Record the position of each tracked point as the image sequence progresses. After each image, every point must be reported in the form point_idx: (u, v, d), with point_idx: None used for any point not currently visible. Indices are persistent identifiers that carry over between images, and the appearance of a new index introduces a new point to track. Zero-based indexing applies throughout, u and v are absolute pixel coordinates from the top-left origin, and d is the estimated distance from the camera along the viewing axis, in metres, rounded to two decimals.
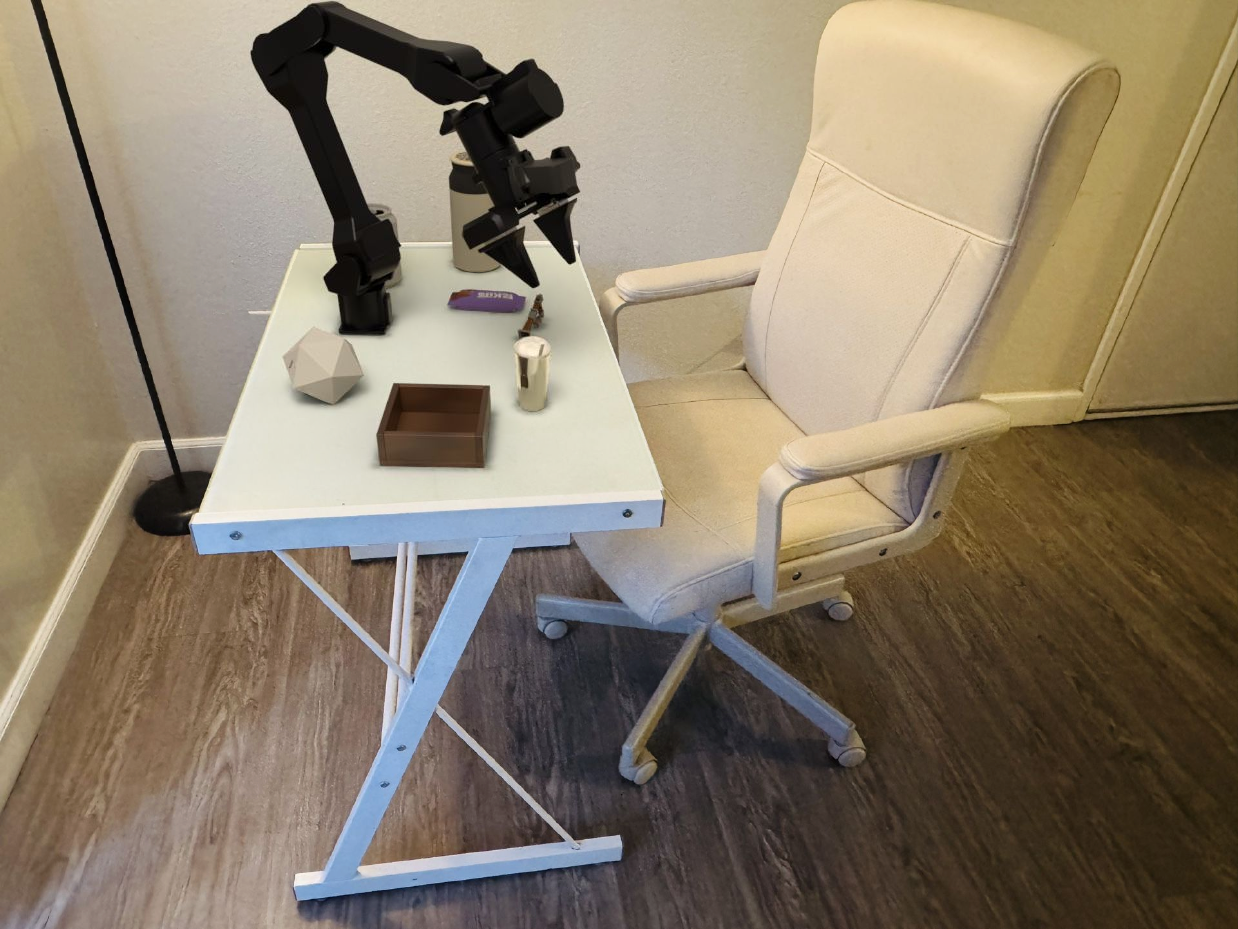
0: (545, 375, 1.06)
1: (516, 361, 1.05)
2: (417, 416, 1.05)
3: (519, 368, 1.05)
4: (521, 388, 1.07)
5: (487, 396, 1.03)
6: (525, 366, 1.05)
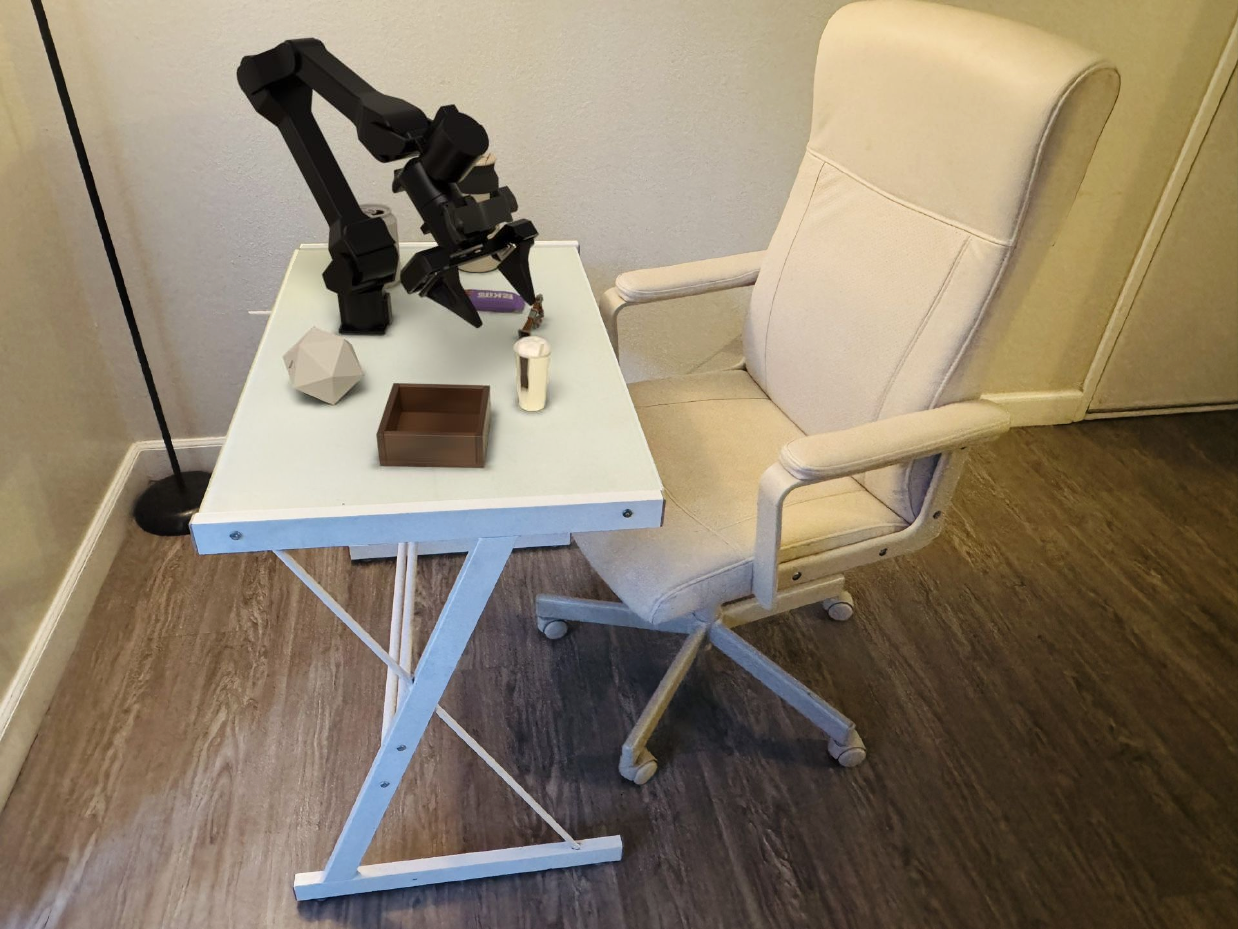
0: (545, 375, 1.06)
1: (516, 361, 1.05)
2: (417, 416, 1.05)
3: (519, 368, 1.05)
4: (521, 388, 1.07)
5: (487, 396, 1.03)
6: (525, 366, 1.05)
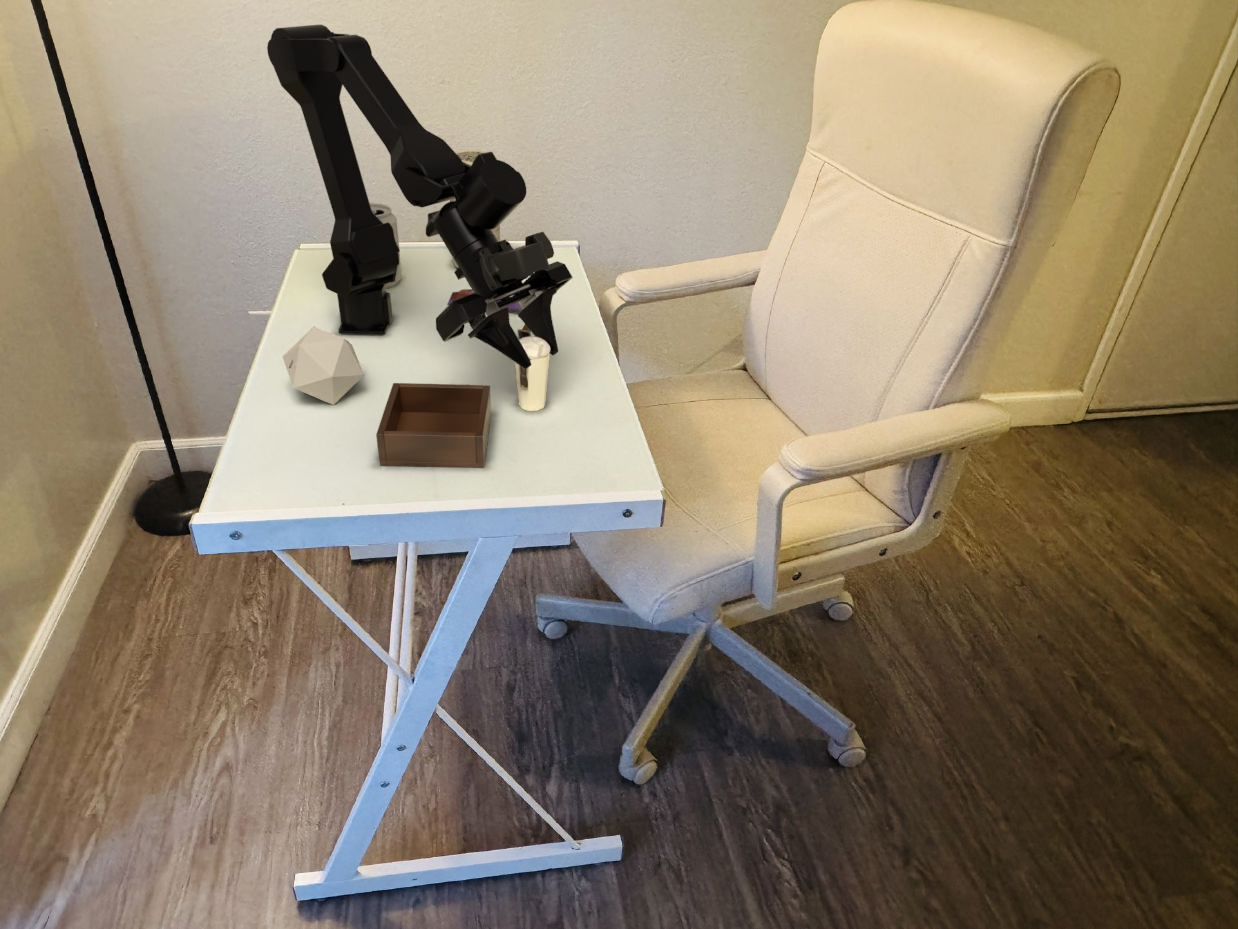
0: (545, 375, 1.06)
1: (515, 362, 1.05)
2: (417, 416, 1.05)
3: (518, 368, 1.05)
4: (521, 388, 1.07)
5: (487, 396, 1.03)
6: None
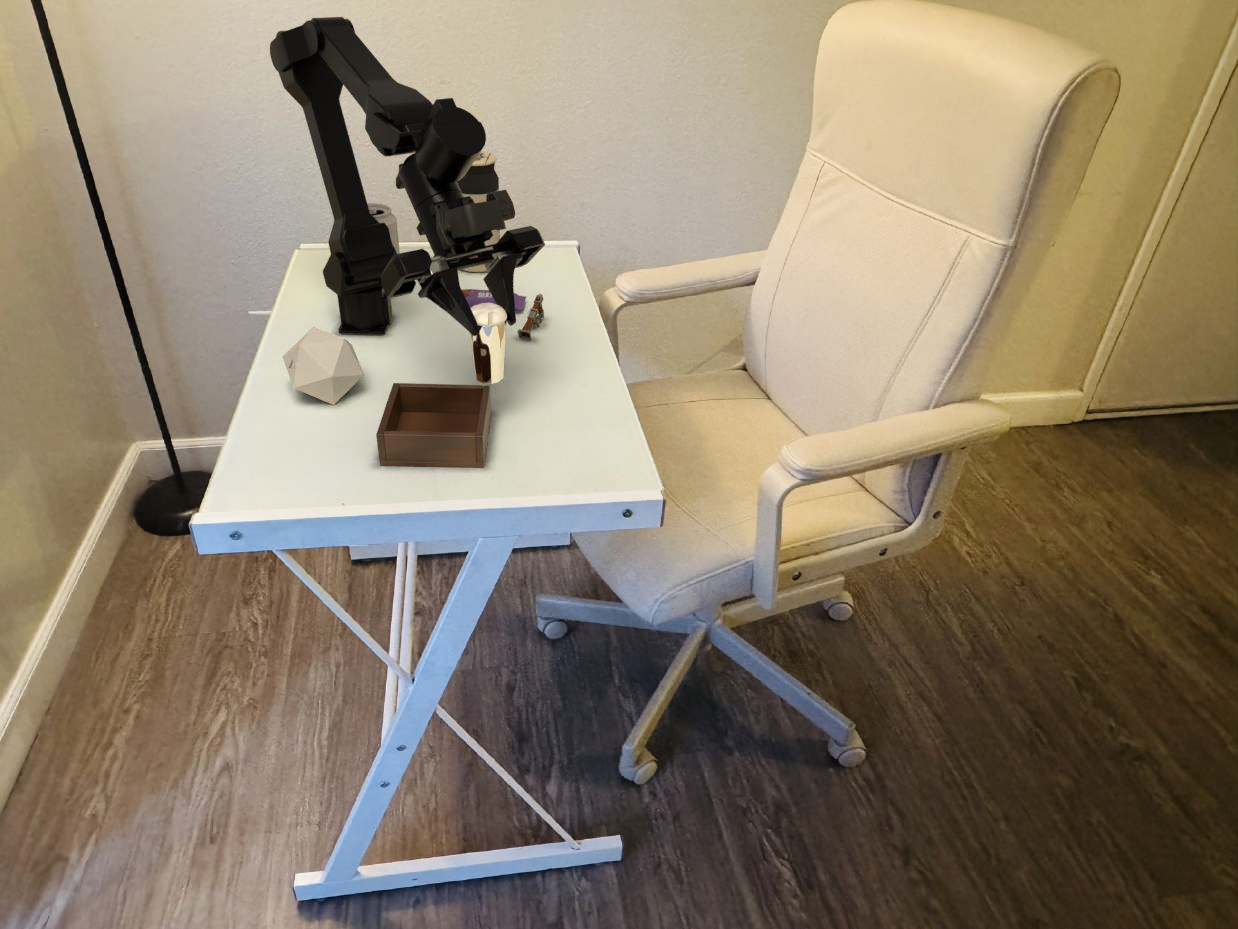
0: (499, 346, 0.99)
1: None
2: (417, 416, 1.05)
3: (471, 336, 0.98)
4: (474, 358, 1.00)
5: (487, 396, 1.03)
6: None
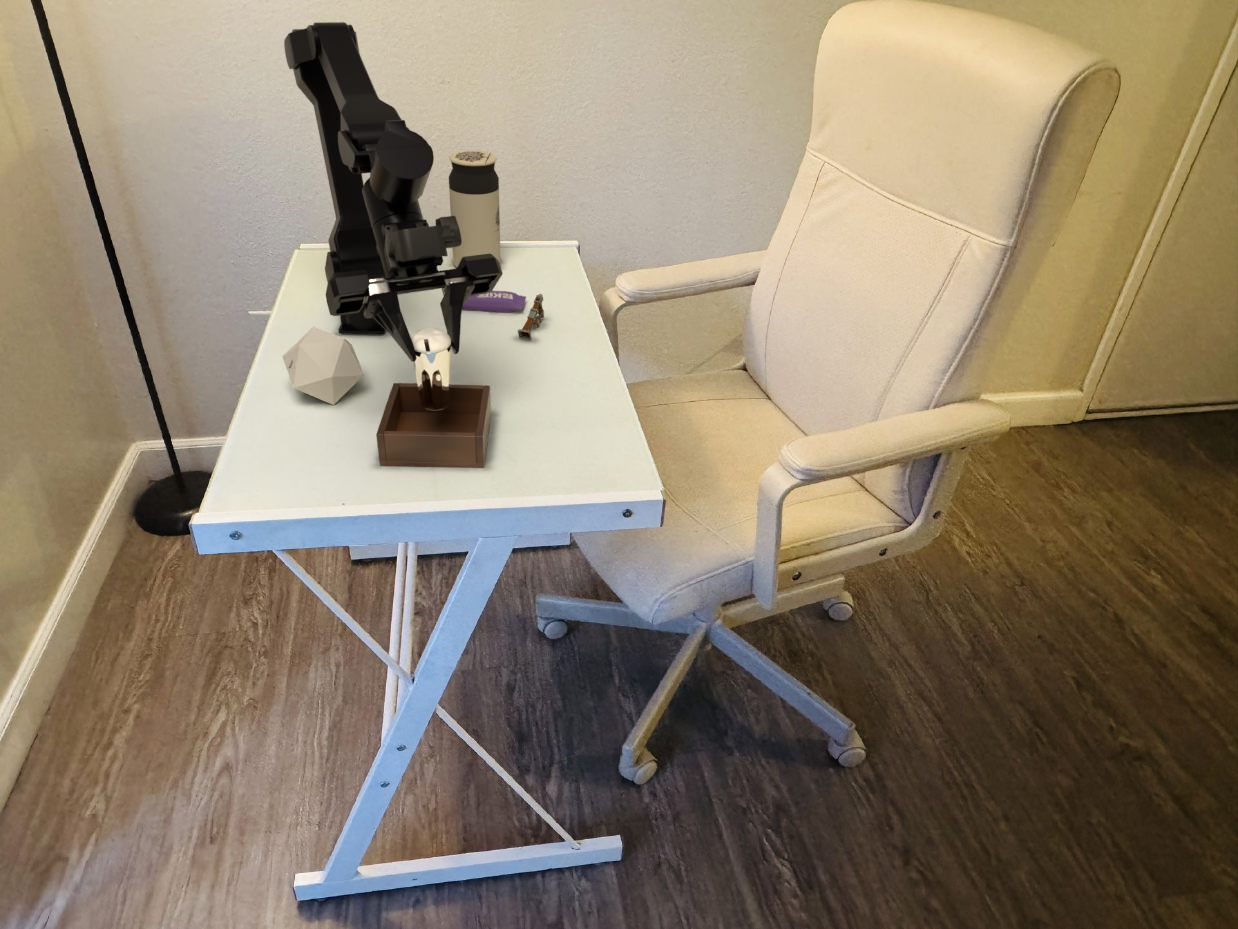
0: (440, 374, 0.96)
1: None
2: (417, 416, 1.05)
3: (413, 361, 0.96)
4: (417, 383, 0.98)
5: (487, 396, 1.03)
6: None
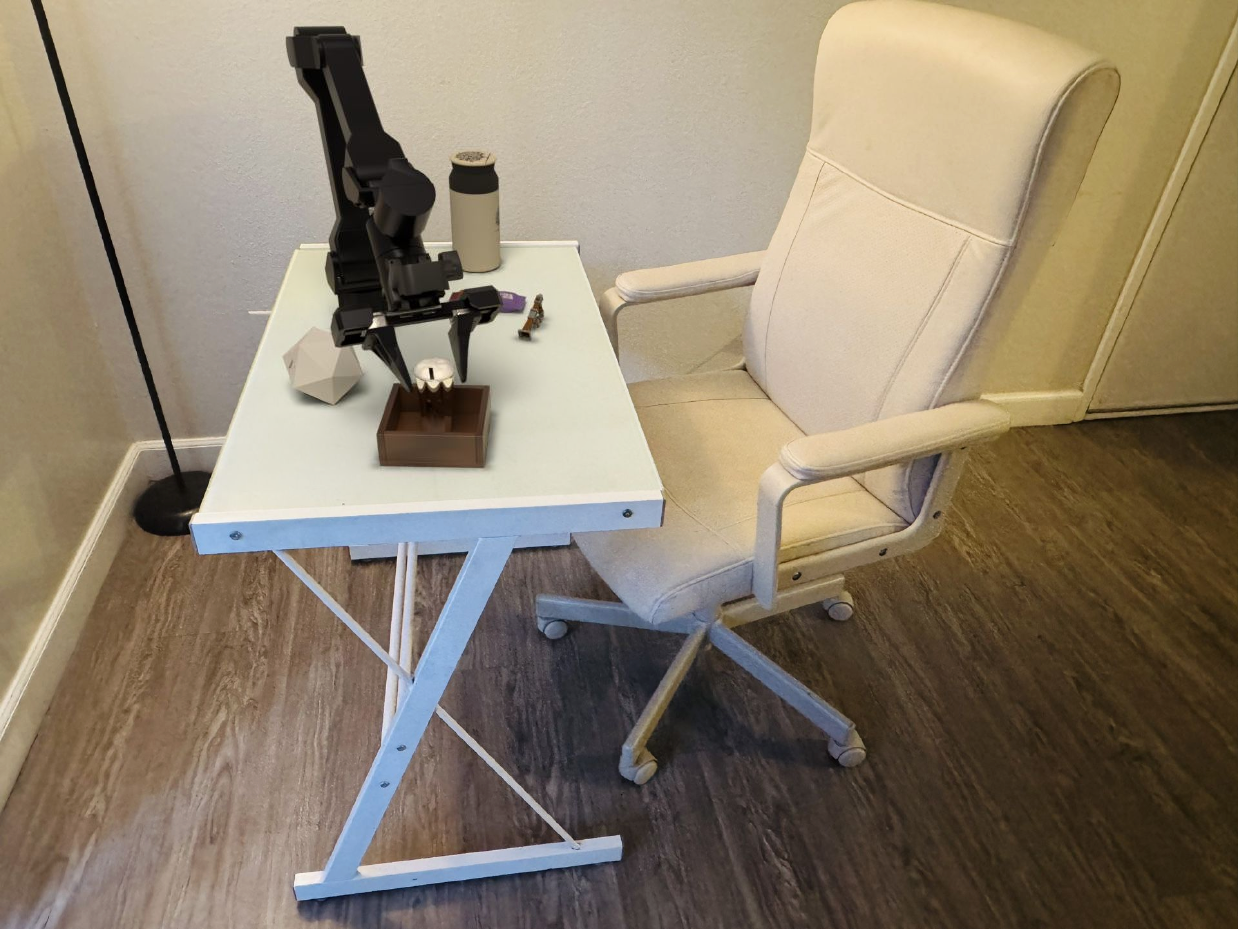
0: (443, 402, 0.98)
1: None
2: (417, 416, 1.05)
3: (417, 388, 0.98)
4: (420, 410, 1.00)
5: (487, 396, 1.03)
6: (419, 387, 0.97)
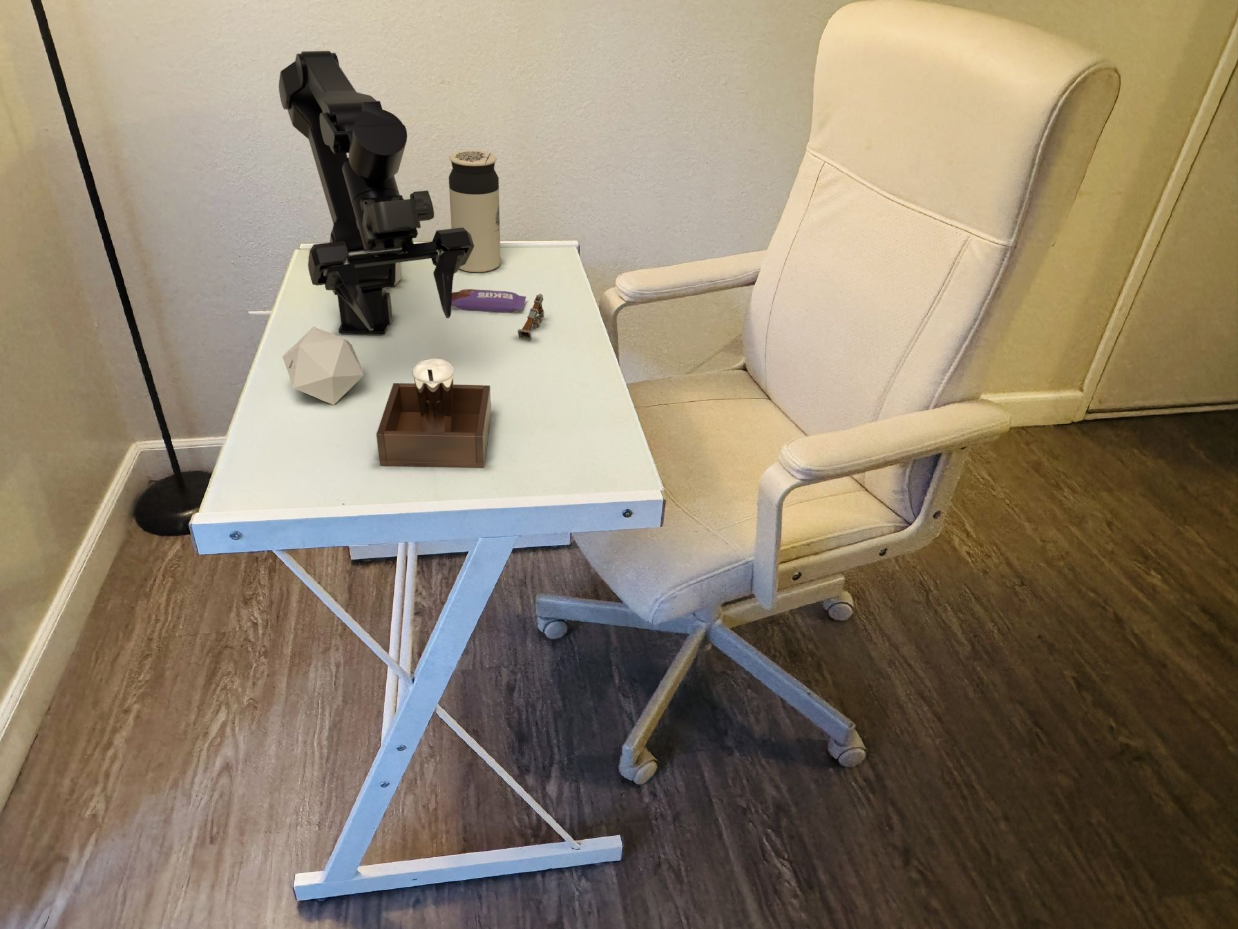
0: (442, 403, 0.98)
1: None
2: (417, 416, 1.05)
3: (416, 390, 0.98)
4: (420, 411, 1.00)
5: (487, 396, 1.03)
6: (419, 389, 0.97)
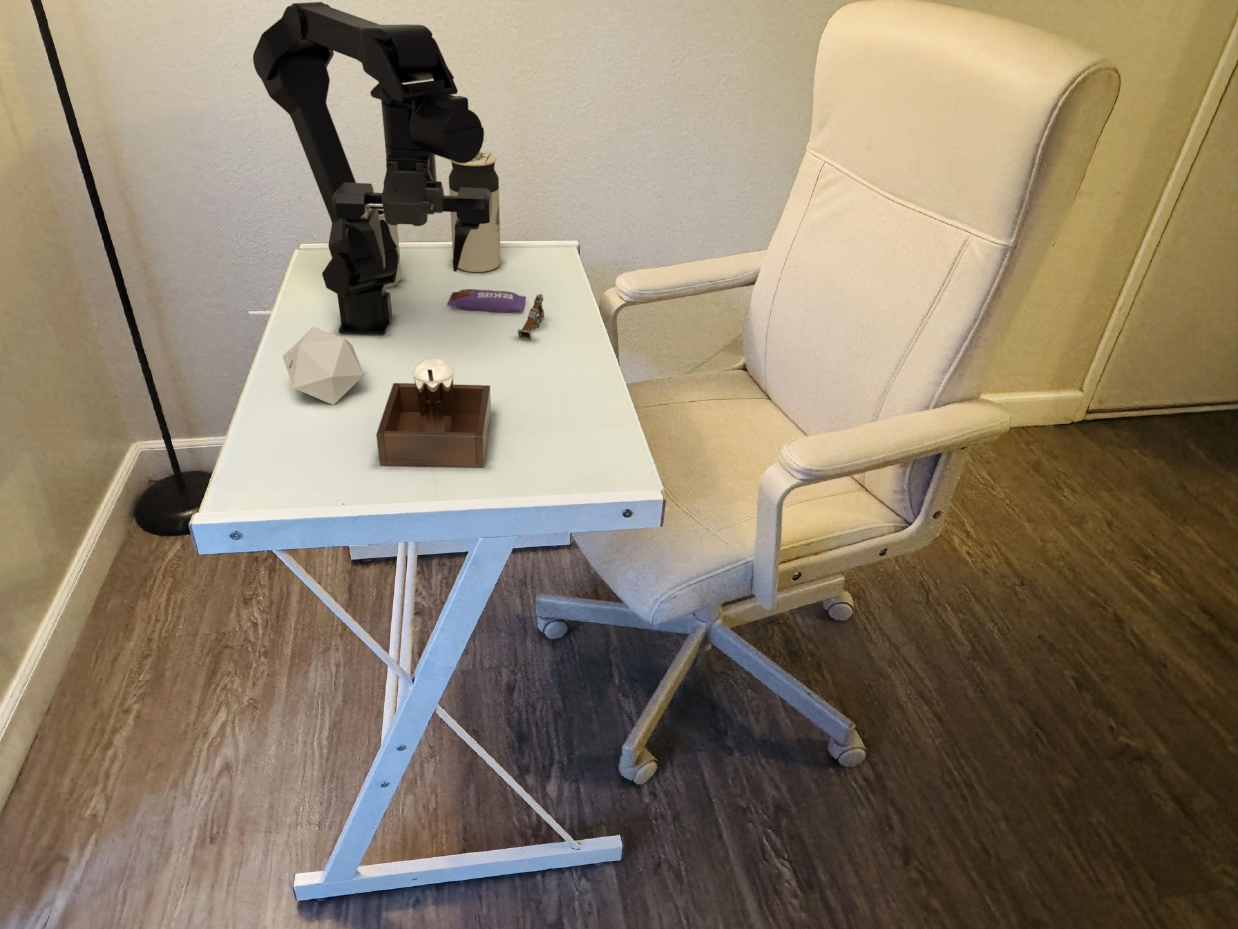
0: (442, 403, 0.98)
1: None
2: (417, 416, 1.05)
3: (416, 390, 0.98)
4: (420, 411, 1.00)
5: (487, 396, 1.03)
6: (419, 389, 0.97)
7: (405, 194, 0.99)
